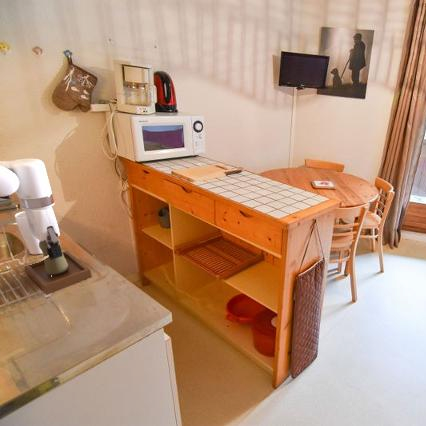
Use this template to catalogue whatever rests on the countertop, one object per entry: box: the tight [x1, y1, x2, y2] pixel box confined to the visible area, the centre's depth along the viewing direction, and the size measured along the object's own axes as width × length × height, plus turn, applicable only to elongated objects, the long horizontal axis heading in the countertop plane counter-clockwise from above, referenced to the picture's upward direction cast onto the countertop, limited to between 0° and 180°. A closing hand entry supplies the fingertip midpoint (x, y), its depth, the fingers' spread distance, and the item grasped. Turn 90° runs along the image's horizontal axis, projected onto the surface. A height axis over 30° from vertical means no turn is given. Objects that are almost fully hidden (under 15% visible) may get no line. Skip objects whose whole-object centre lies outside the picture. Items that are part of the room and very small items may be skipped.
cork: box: [39, 238, 69, 275], centre depth 100 cm, size 6×6×11 cm
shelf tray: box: [23, 250, 93, 295], centre depth 103 cm, size 18×12×3 cm, turn 55°
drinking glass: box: [14, 210, 43, 256], centre depth 112 cm, size 7×7×15 cm
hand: (52, 253), depth 100 cm, fingers closed on cork, 5 cm apart
